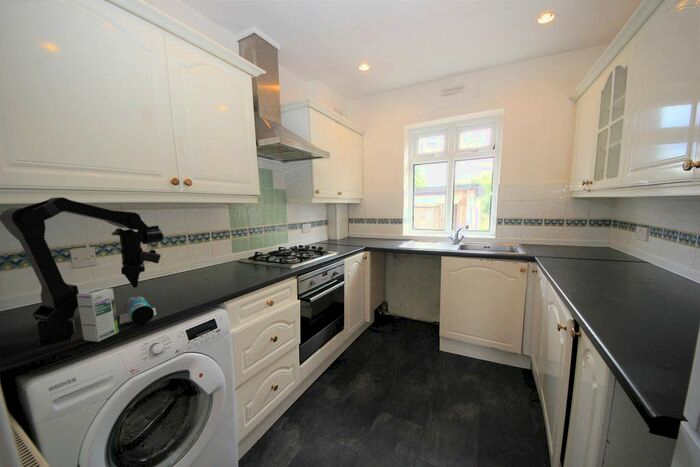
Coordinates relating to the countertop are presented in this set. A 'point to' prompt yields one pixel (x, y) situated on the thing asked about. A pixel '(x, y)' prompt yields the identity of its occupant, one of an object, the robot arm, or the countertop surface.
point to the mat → (127, 318)
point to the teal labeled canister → (139, 310)
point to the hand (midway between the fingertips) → (135, 287)
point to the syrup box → (97, 314)
